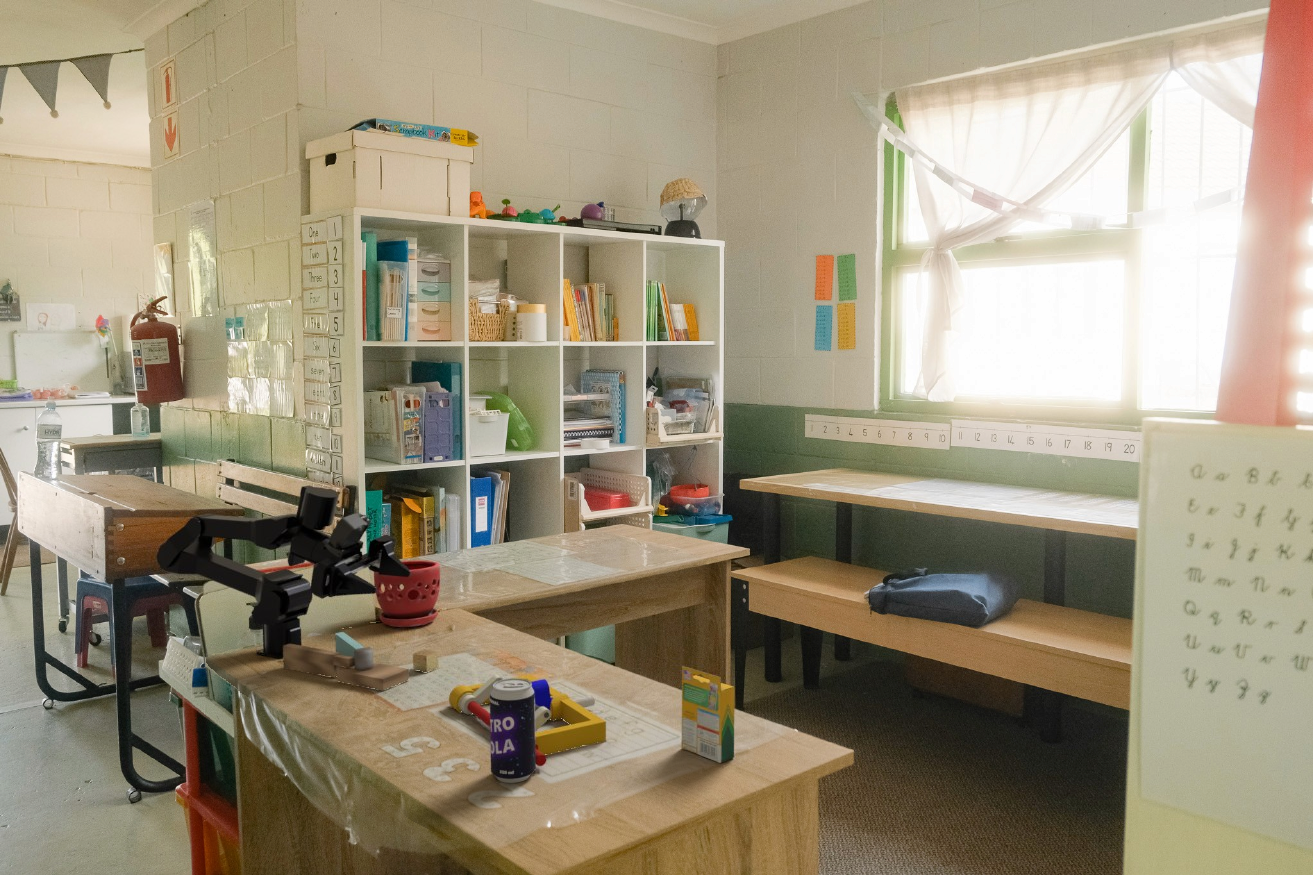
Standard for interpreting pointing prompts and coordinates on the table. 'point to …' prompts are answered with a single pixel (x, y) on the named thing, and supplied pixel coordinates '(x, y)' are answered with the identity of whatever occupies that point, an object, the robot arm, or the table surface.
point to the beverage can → (512, 730)
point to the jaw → (346, 644)
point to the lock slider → (425, 660)
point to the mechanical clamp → (540, 715)
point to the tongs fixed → (355, 670)
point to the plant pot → (409, 595)
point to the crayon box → (707, 715)
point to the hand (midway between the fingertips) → (393, 582)
